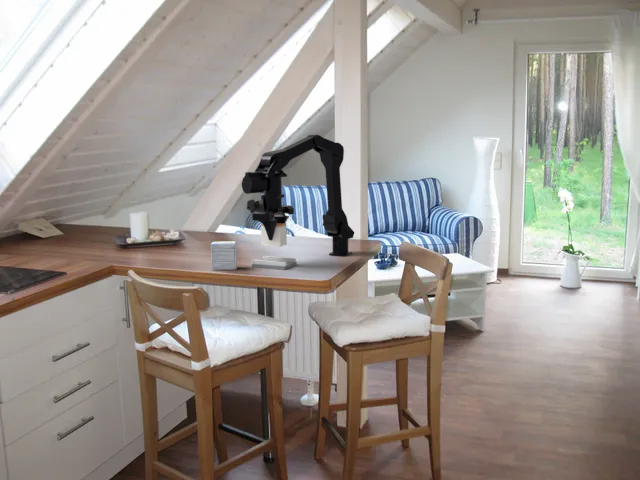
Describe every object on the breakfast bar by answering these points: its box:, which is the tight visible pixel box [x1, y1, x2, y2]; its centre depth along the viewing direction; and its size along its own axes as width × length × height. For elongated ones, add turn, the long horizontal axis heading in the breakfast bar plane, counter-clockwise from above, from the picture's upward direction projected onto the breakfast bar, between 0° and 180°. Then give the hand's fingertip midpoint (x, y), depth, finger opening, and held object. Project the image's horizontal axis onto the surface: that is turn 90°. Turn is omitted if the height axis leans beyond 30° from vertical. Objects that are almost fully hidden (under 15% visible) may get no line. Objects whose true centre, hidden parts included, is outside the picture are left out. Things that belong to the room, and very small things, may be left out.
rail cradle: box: [251, 255, 298, 271], centre depth 224 cm, size 9×12×2 cm
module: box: [260, 222, 288, 248], centre depth 223 cm, size 4×7×7 cm, turn 66°
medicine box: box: [210, 240, 238, 271], centre depth 220 cm, size 8×4×9 cm, turn 92°
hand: (274, 238), depth 223 cm, fingers closed on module, 4 cm apart
